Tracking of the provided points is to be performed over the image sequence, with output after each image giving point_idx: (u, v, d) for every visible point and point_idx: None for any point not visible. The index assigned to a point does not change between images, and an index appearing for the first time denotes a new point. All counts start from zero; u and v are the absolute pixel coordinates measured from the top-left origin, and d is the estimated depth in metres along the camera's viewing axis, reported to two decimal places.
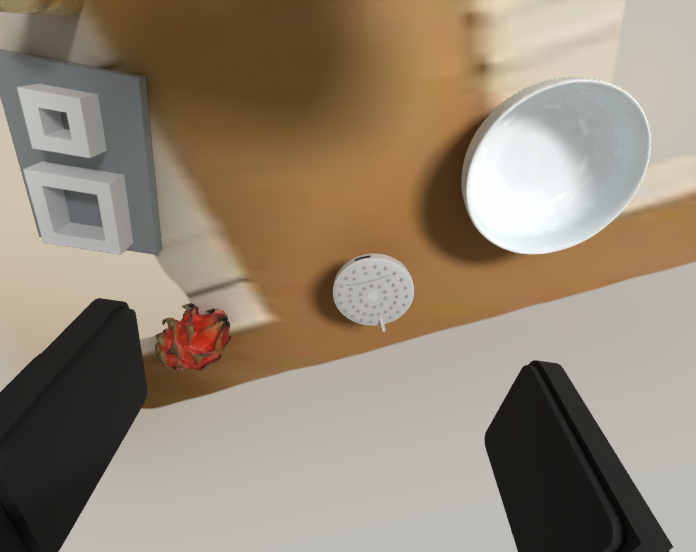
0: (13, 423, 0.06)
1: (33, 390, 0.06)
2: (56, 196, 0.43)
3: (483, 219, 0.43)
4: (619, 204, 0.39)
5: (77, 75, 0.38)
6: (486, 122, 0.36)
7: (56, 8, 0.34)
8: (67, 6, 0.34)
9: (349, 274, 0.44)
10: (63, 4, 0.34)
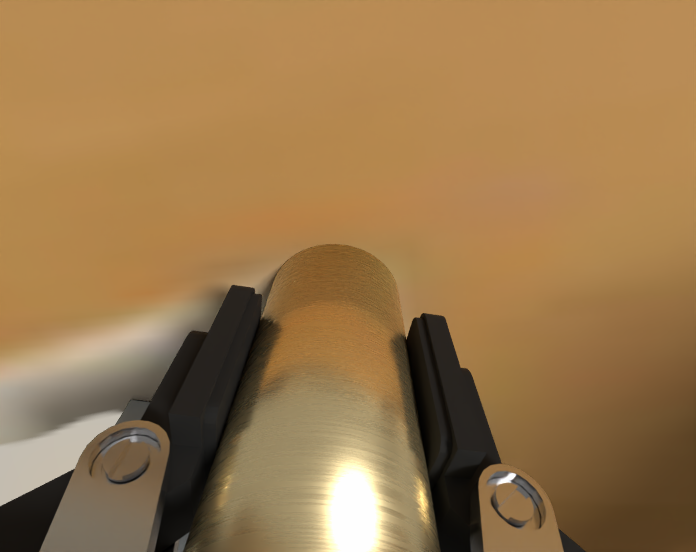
0: (214, 383, 0.07)
1: (217, 358, 0.07)
2: None
3: None
4: None
5: None
6: None
7: None
8: None
9: None
10: None
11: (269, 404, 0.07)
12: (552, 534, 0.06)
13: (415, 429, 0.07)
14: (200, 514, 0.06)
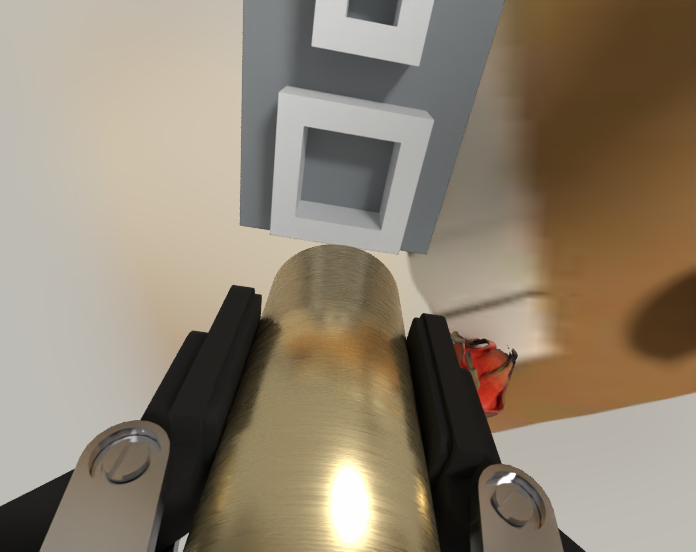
0: (214, 383, 0.07)
1: (217, 358, 0.07)
2: (303, 151, 0.24)
3: None
4: None
5: None
6: None
7: None
8: None
9: None
10: None
11: (269, 404, 0.07)
12: (552, 534, 0.06)
13: (415, 430, 0.07)
14: (199, 516, 0.06)
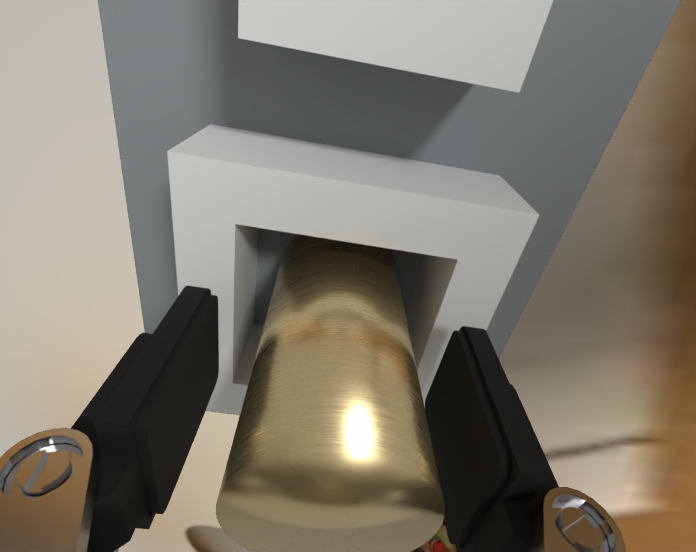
0: (148, 388, 0.07)
1: (156, 362, 0.07)
2: (248, 255, 0.12)
3: None
4: None
5: None
6: None
7: None
8: None
9: None
10: None
11: (292, 347, 0.08)
12: None
13: (413, 369, 0.09)
14: (241, 430, 0.07)
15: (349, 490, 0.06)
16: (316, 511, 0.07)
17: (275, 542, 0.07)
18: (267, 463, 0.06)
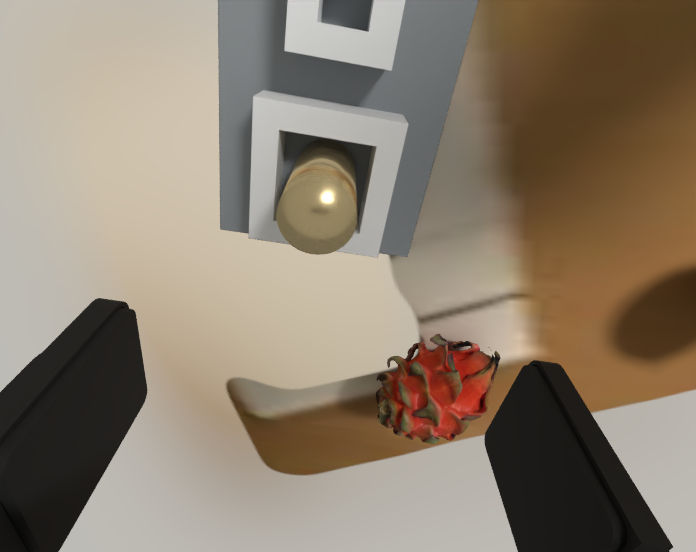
0: (13, 423, 0.06)
1: (33, 390, 0.06)
2: (281, 154, 0.24)
3: None
4: None
5: None
6: None
7: None
8: None
9: None
10: None
11: (303, 167, 0.20)
12: None
13: (352, 182, 0.21)
14: (284, 189, 0.19)
15: (322, 200, 0.19)
16: (311, 213, 0.19)
17: (296, 234, 0.20)
18: (295, 184, 0.18)
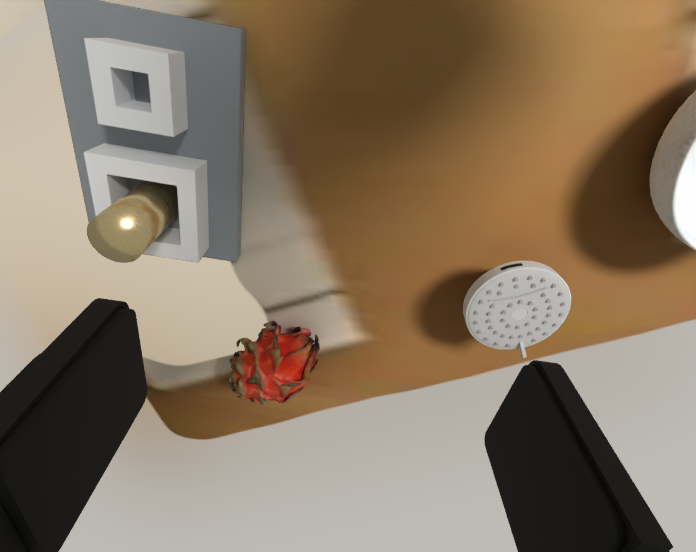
0: (13, 423, 0.06)
1: (33, 390, 0.06)
2: (120, 188, 0.34)
3: None
4: None
5: (159, 26, 0.29)
6: None
7: (162, 231, 0.34)
8: (170, 222, 0.35)
9: (494, 287, 0.34)
10: (168, 224, 0.34)
11: (114, 203, 0.30)
12: None
13: (151, 213, 0.31)
14: None
15: (115, 227, 0.28)
16: (111, 236, 0.29)
17: (104, 249, 0.29)
18: (95, 217, 0.28)
